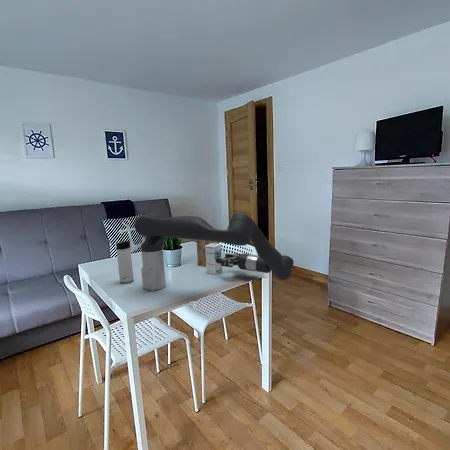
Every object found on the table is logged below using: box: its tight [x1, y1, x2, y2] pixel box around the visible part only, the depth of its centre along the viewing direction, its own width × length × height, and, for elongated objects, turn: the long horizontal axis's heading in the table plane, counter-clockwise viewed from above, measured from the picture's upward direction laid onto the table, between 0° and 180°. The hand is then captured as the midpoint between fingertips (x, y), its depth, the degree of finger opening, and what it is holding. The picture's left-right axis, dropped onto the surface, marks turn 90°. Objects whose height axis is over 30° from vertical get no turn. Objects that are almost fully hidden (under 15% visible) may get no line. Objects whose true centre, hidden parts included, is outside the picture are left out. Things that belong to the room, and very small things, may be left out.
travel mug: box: [115, 240, 135, 285], centre depth 132 cm, size 6×7×20 cm
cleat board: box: [196, 240, 227, 267], centre depth 156 cm, size 14×11×18 cm
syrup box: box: [205, 242, 223, 275], centre depth 141 cm, size 6×6×14 cm
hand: (221, 258), depth 139 cm, fingers open, 8 cm apart
